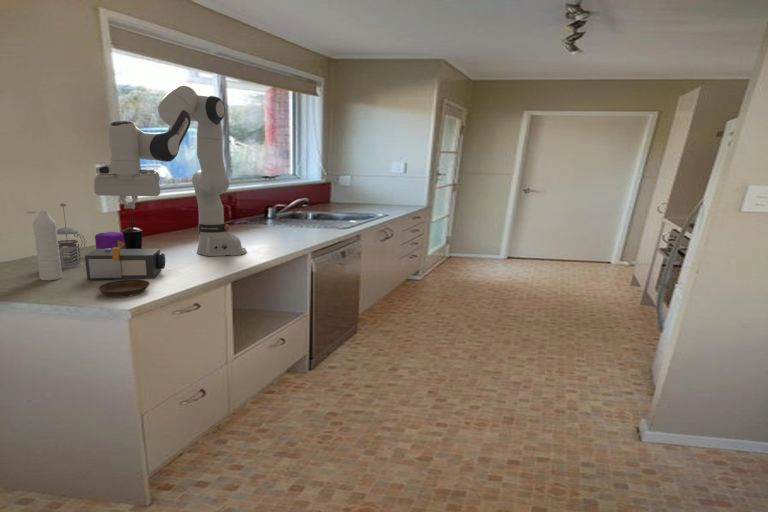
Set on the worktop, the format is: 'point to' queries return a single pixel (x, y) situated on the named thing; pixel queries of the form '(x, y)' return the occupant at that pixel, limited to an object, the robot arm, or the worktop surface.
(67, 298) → the worktop surface
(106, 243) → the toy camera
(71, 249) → the french press
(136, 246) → the drinking cup
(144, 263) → the camera housing
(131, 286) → the saucer
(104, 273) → the side door
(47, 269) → the water bottle
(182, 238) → the worktop surface
